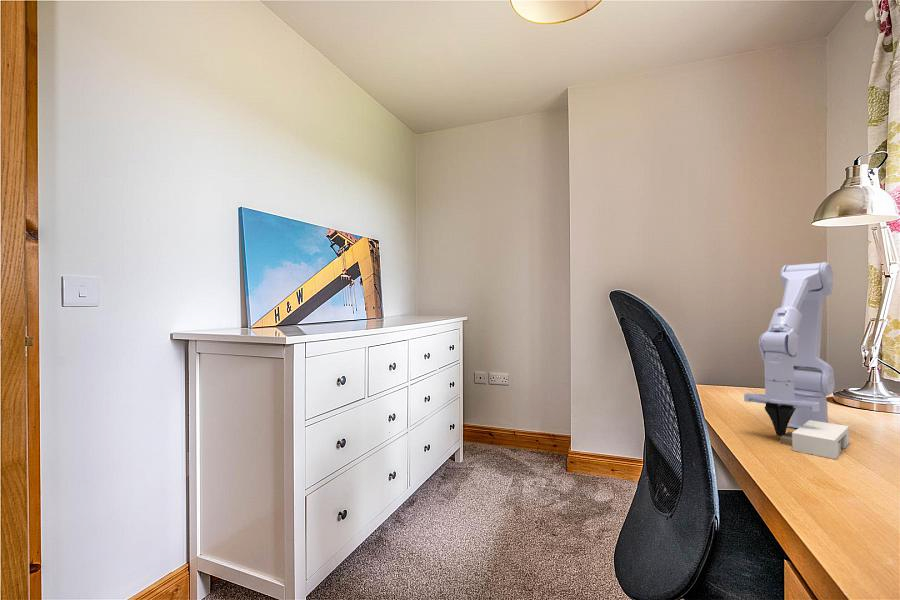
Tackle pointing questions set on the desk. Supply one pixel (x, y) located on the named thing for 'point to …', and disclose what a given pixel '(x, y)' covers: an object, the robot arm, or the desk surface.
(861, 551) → the desk surface
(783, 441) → the walnut panel
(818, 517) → the desk surface
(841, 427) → the white shelf
